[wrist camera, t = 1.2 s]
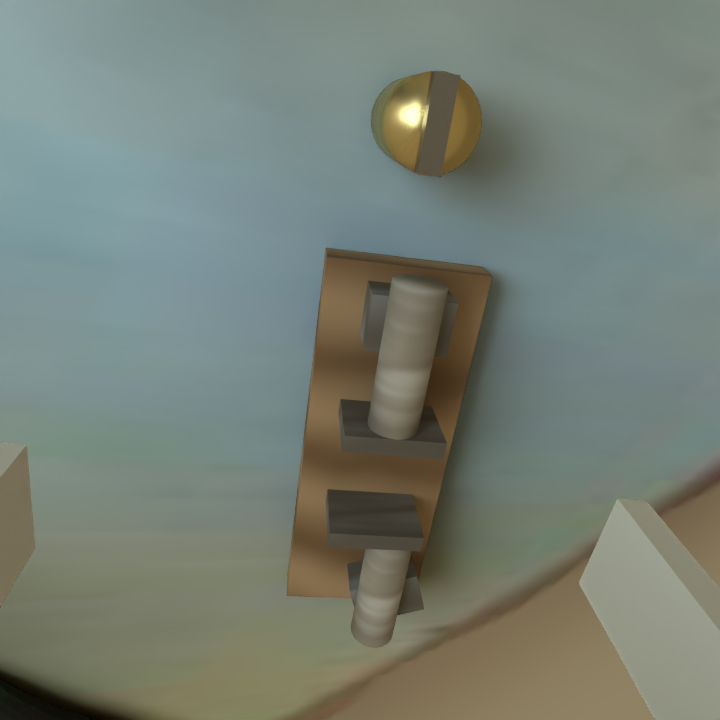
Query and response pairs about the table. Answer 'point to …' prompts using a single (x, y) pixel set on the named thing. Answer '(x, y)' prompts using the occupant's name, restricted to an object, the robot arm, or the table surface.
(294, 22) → the table surface
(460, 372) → the double roll holder
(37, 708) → the tool
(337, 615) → the table surface
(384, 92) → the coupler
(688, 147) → the table surface
